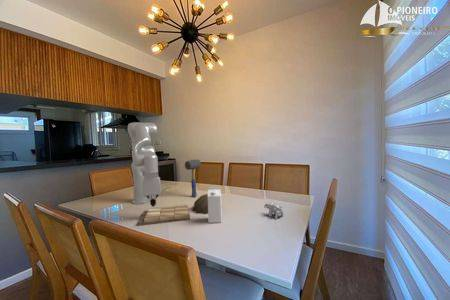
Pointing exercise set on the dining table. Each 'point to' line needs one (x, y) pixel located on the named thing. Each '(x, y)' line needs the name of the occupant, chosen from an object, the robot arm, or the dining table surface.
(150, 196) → the robot arm
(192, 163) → the rubber mallet
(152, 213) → the loose plank
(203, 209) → the decorative dome
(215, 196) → the milk carton
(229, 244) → the dining table surface
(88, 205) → the dining table surface
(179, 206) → the floor board
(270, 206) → the elephant statuette
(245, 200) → the dining table surface
